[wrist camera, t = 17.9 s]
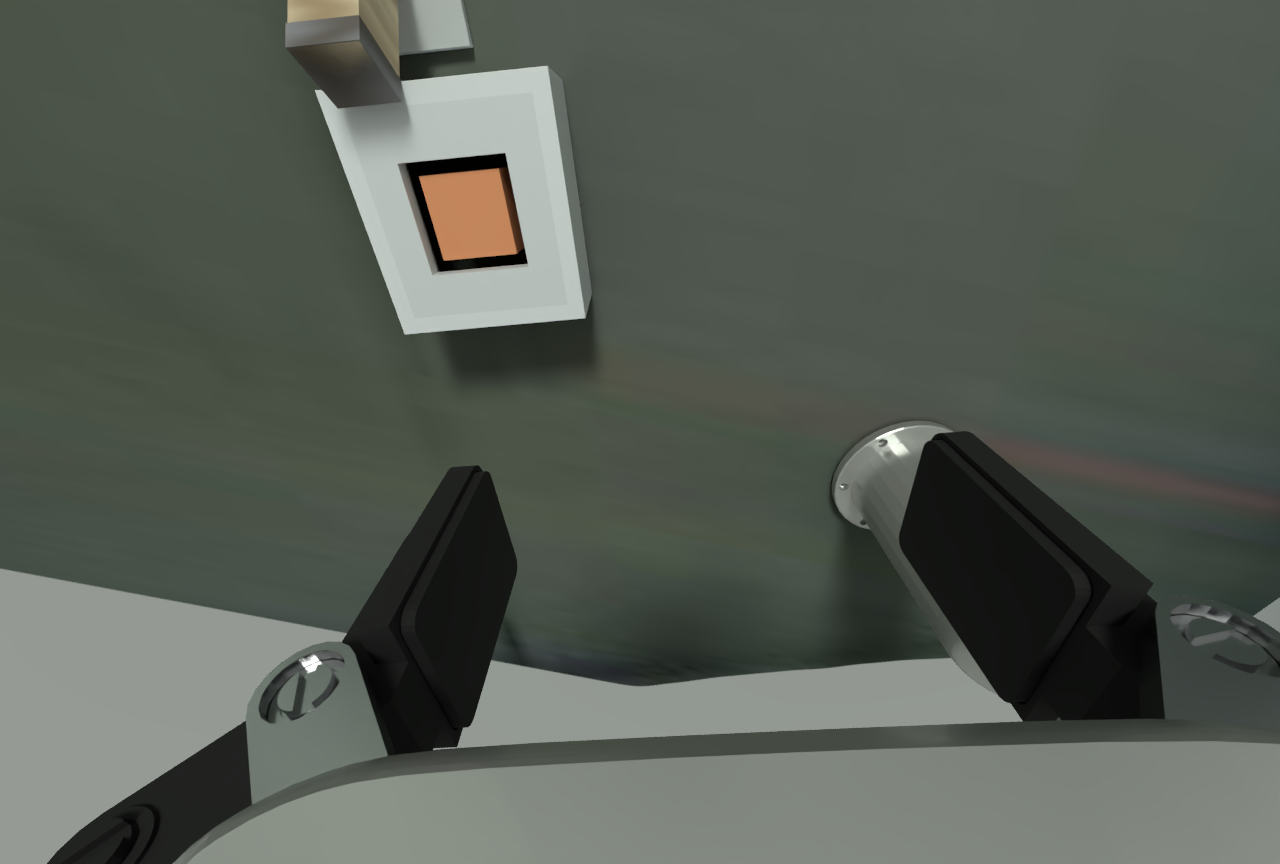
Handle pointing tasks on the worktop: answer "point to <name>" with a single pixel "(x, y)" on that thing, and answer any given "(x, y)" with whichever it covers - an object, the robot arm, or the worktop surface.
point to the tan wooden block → (348, 48)
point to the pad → (432, 26)
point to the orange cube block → (473, 213)
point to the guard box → (454, 128)
